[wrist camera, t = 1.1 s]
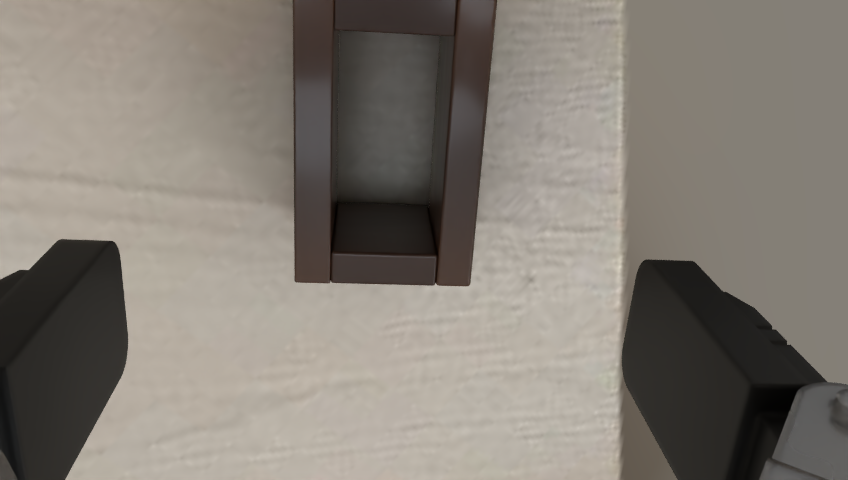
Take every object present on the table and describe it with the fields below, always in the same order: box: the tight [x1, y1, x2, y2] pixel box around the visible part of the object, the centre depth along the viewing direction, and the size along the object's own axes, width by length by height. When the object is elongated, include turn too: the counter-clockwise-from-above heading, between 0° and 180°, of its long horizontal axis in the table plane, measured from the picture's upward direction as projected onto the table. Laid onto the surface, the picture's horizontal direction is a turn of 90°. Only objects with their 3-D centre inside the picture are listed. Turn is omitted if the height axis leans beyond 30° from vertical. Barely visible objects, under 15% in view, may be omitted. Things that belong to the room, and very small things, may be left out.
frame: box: [293, 0, 497, 286], centre depth 22 cm, size 8×5×4 cm, turn 176°
